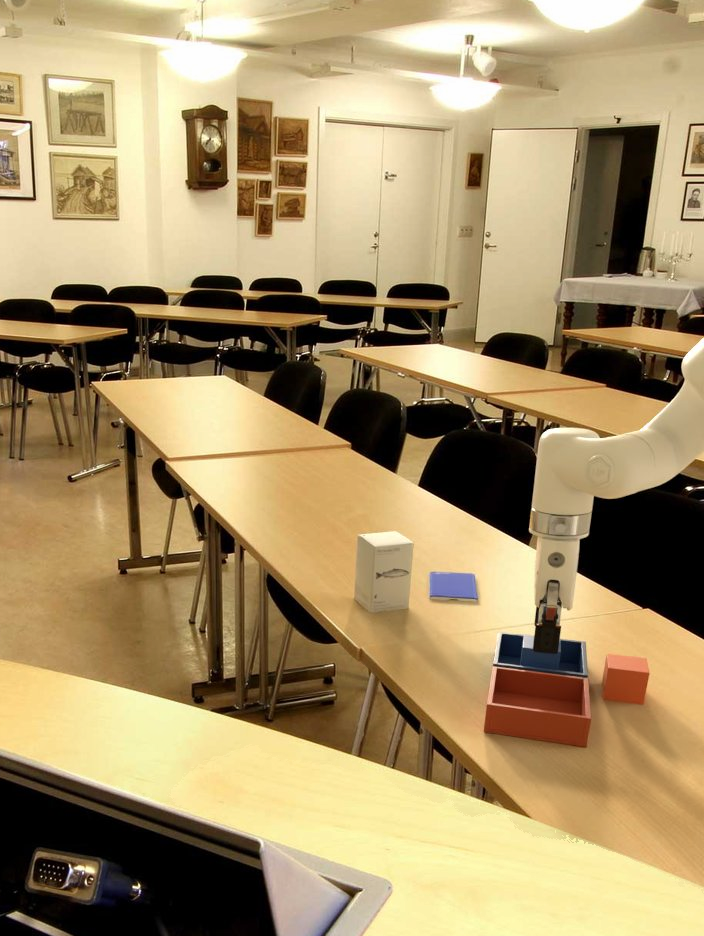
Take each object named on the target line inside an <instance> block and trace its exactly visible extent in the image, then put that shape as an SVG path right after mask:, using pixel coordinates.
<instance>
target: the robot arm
mask: <svg viewBox="0 0 704 936" xmlns="http://www.w3.org/2000/svg"><path fill="white" fill-rule="evenodd" d="M680 368H681V373H682V376H683V378H684V381H683V384H682V386H681V388H680V389H679V391H678V392H677V393H676V395H675V396H674V398H673V399H671V401H669V403H668V404H667V405H666V406H665V407H664V408H663V409H662V410H661V411H660V412H659V413H658V414H657V415H656V416H654V417H653V418H652V419H651V420H650V421H649V422H648V423H647V424H646V425H644V426H643V427H642V428H641V429H640V430H634V431H630V432H625V433H621V434H618V435H613V436H608V437H602V438H601V437H600V435H599V433H597V432H596V431H594V430H591V429H588V428H581V427H555V428H550V429H547V430H546V431H544V432H543V433H542V434H541V435H540V437H539V440H538V446H537V455H536V463H535V464H536V465H535V474H534V482H533V492H532V500H531V509H530V519H529V526H528V527H529V528H528V532H529V533H530V534H532V535H533V536H536V537H537V540H536V550H535V561H534V563H535V564H534V576H533V577H534V578H533V579H534V580H533V587H534V588H533V590H534V592H533V593H534V606H535V614H534V624H533V625H534V626H535V627H534V635H533V636H534V643H533V651H534V652H539V653H549V654H557V653H558V648H559V640H560V639H561V632H562V625H561V618H562V608H563V609H566V610H567V611H570V610H572V609H573V607H574V599H575V598H574V597H575V591H576V590H575V589H576V581H577V573H578V566H579V557H580V555H579V554H580V542H581V541H580V540H582V539H584V538H587V537H589V535H590V528H591V521H592V513H593V506H594V497H596V498H601V499H607V500H612V499H620V498H624V497H626V496H630V495H633V494H636V493H638V492H642V491H646V490H648V489H652V488H655V487H658V486H661V485H663V484H665V483H667V482H669V481H671V480H672V479H673V478H674V477H676V476H677V475H679V474H680V473H681V472H682V471H684V469H686V468H687V467H688V466H689V465H690V464H691V463H693V462H694V461H695V460H696V459H697V458H699V457H700V456H702V454H703V453H704V337H703V338H702V339H701V340H700V341H698V343H697V344H696V345H695V346H694V347H693V348H691V350H689V352H688V353H686V355H685V356H684V357H683V359H682V362H681V367H680Z"/></svg>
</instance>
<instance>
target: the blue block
mask: <svg viewBox="0 0 704 936" xmlns="http://www.w3.org/2000/svg"><path fill="white" fill-rule="evenodd" d="M523 635H524V637H523V644H522V652H521V660H520V666H528V667H536V668H544V669H552V670H558V668H559V661H560V654H561V639H562V638H560V640H559V648H558V653H557V654H549V653H539V652H534V651H533V643H534V635H531V634H523Z"/></svg>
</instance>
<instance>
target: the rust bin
mask: <svg viewBox="0 0 704 936" xmlns="http://www.w3.org/2000/svg"><path fill="white" fill-rule="evenodd" d="M590 695H591V694H590V683H589V677H588V678H583V677H575V676H567V675H559V674H551V673H543V672H535V671H527V670H519V669H511V668H503V667H495V666H493V665H492V669H491V676H490V680H489V688H488V695H487V702H486V709H485V716H484V725H483V732H484V733H487V734H489V733H490V734H496V735H502V736H509V737H515V738H516V737H517V738H523V739H528V740H529V739H530V740H536V741H542V742H548V743H556V744H562V745H570V746H576V747H583V748H587V747H588V741H589V734H590V728H591V722H592V713H591V712H592V711H591V699H590V698H591V697H590Z"/></svg>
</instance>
